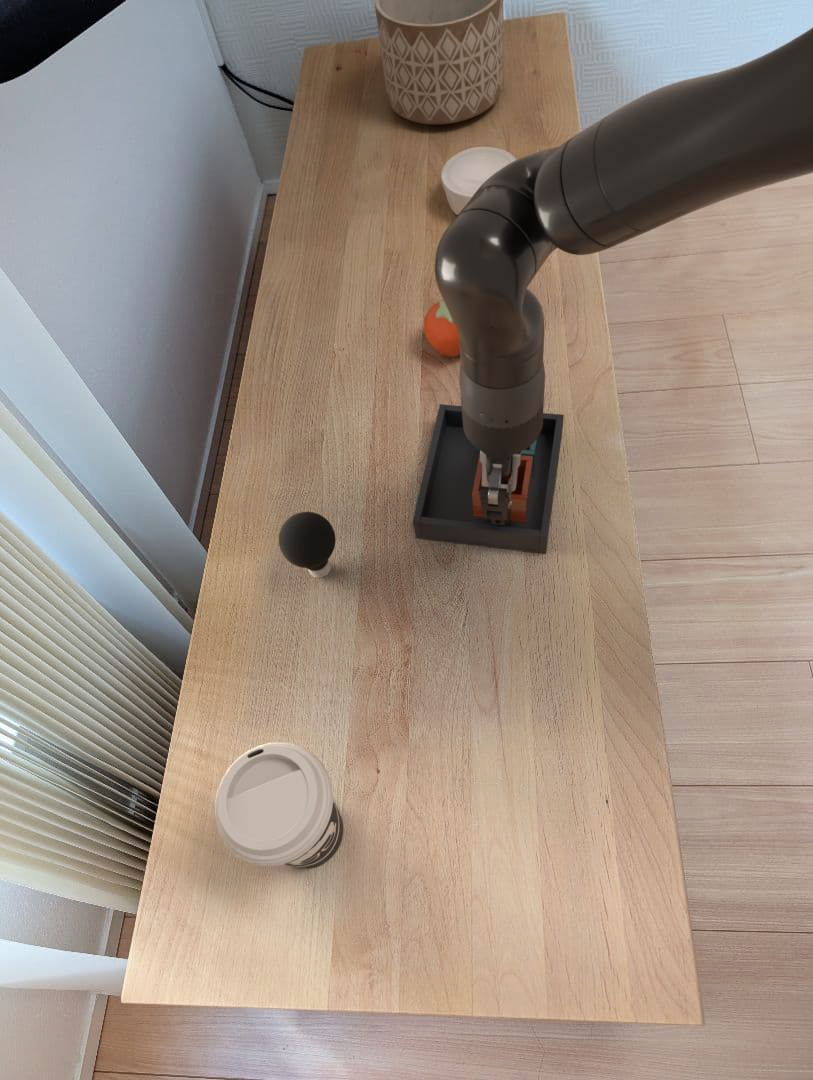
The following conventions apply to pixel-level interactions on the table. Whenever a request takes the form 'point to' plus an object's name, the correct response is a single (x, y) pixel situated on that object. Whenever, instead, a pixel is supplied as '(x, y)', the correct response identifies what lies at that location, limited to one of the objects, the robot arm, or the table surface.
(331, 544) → the light bulb
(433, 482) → the tray
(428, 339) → the tomato
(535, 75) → the table surface
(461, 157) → the ramekin
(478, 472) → the box brown
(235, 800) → the coffee cup
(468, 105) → the planter
